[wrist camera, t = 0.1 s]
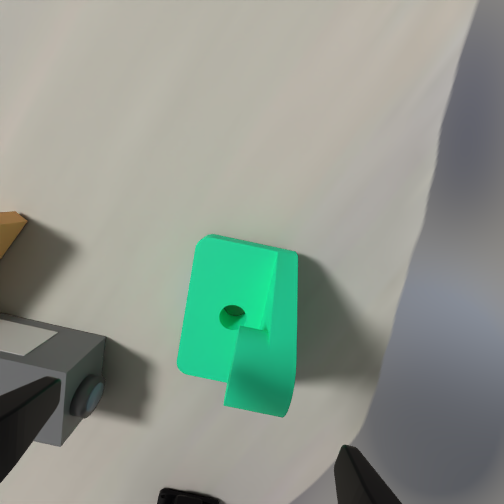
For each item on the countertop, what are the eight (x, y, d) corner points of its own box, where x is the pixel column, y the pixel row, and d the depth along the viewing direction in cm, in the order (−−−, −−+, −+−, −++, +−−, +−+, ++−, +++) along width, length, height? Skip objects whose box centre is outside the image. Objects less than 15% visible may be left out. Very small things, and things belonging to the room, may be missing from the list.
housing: (110, 401, 26) (72, 453, 20) (-32, 369, 25) (-107, 415, 20) (118, 338, 24) (78, 378, 19) (-34, 304, 24) (-115, 335, 19)
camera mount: (205, 229, 22) (157, 260, 12) (293, 248, 22) (321, 295, 12) (184, 353, 24) (130, 464, 14) (263, 369, 25) (264, 491, 14)
